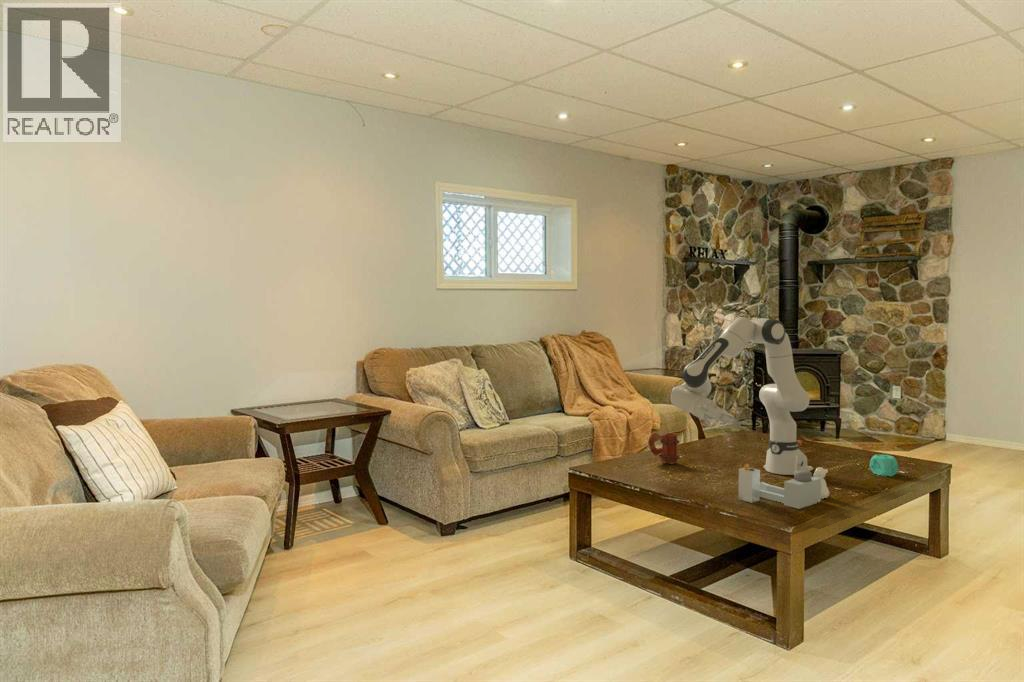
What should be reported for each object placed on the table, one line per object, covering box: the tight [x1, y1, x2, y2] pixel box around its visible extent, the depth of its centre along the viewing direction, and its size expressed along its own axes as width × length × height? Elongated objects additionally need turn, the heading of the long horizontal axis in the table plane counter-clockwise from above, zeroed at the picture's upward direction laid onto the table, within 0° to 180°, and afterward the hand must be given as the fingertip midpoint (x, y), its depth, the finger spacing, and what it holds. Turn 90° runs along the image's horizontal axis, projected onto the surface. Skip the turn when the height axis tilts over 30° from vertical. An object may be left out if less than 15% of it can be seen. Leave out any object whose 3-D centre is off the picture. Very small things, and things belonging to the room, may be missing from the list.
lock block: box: [737, 463, 761, 504], centre depth 262 cm, size 5×6×14 cm
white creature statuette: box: [812, 466, 830, 500], centre depth 265 cm, size 10×9×12 cm
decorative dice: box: [869, 454, 899, 477], centre depth 299 cm, size 8×8×8 cm
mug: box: [648, 431, 680, 465], centre depth 322 cm, size 15×8×15 cm, turn 84°
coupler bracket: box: [760, 470, 822, 510], centre depth 264 cm, size 15×25×12 cm, turn 36°
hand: (736, 422), depth 271 cm, fingers open, 8 cm apart
